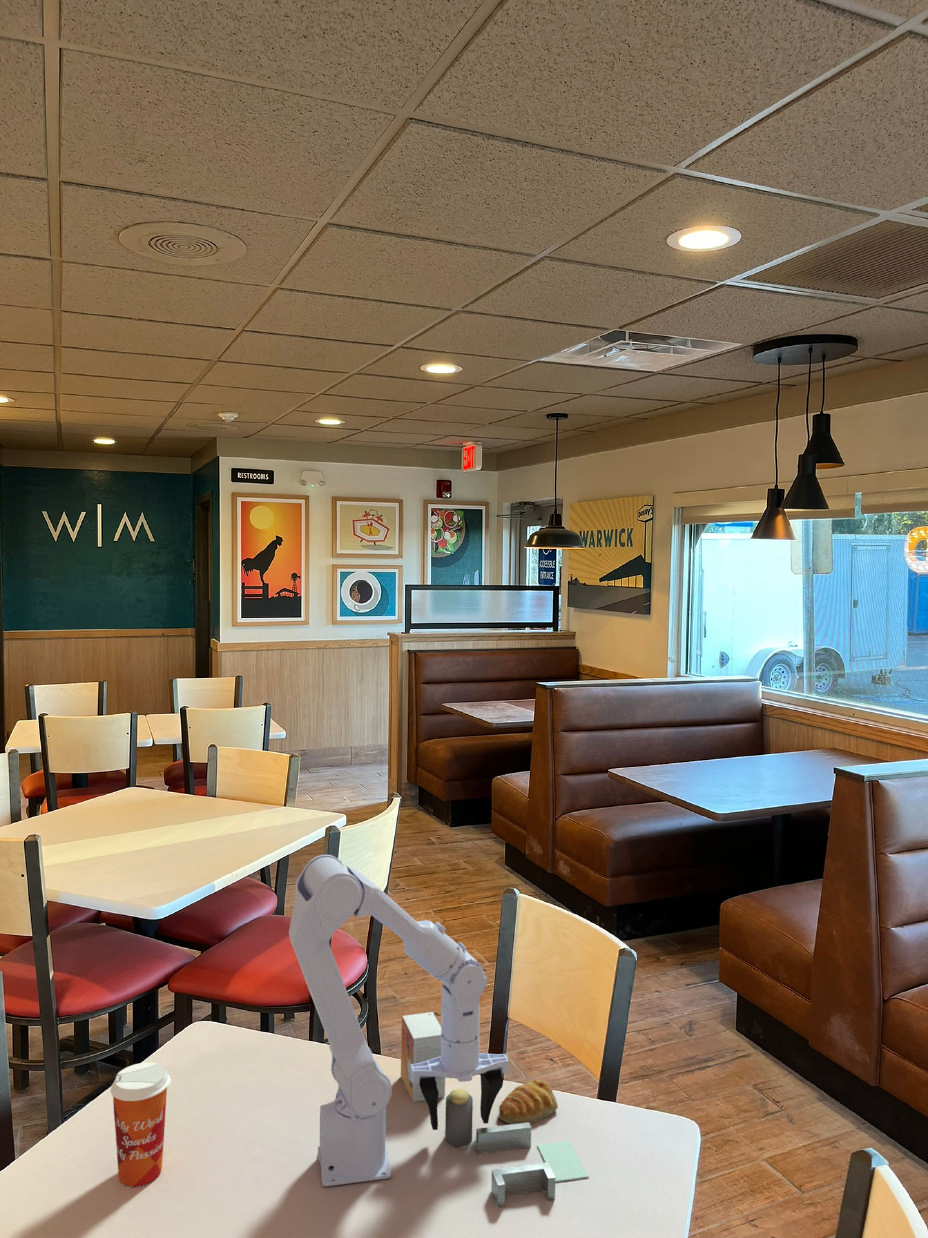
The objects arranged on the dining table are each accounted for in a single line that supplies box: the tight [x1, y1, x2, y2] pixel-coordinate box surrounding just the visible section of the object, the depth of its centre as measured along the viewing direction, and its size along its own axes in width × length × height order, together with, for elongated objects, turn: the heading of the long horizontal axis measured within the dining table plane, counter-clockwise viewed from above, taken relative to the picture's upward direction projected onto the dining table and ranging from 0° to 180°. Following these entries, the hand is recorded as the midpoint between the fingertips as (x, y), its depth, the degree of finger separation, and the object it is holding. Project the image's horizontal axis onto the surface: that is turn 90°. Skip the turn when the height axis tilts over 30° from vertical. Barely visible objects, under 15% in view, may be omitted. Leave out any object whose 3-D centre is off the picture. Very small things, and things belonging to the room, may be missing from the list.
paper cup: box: [110, 1062, 172, 1188], centre depth 123 cm, size 8×8×14 cm
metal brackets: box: [475, 1122, 556, 1208], centre depth 124 cm, size 8×12×3 cm, turn 12°
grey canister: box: [444, 1088, 474, 1148], centre depth 132 cm, size 4×4×7 cm
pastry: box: [498, 1078, 559, 1125], centre depth 139 cm, size 9×7×4 cm
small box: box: [400, 1011, 446, 1103], centre depth 145 cm, size 8×6×10 cm
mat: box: [537, 1140, 589, 1183], centre depth 127 cm, size 5×8×1 cm, turn 12°
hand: (459, 1123), depth 132 cm, fingers open, 7 cm apart
